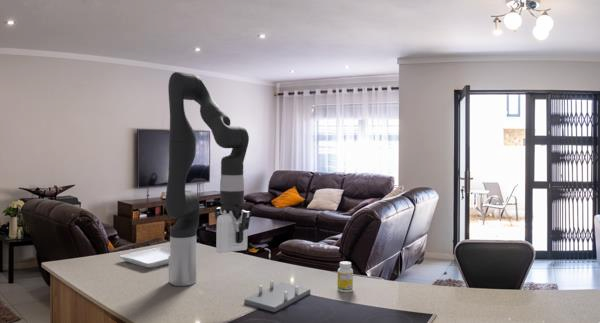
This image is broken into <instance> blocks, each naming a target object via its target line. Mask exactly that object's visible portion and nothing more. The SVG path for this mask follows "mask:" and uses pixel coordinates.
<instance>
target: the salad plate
mask: <svg viewBox="0 0 600 323" xmlns="http://www.w3.org/2000/svg"><path fill="white" fill-rule="evenodd" d="M169 256H170V247H169V248H168V247H164V246H163V247H162V246H159V247H154V248H148V249H144V250H139V251H134V252H129V253H126V254H120V255H119V257H120V259H122V260H123V261H125V262H128V263H131V264H134V265H138V266H141V267H143V268H148V269H149V268H150V269H151V268H157V267H161V266H164V265H169Z"/></svg>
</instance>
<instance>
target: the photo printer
mask: <svg viewBox="0 0 600 323" xmlns="http://www.w3.org/2000/svg"><path fill="white" fill-rule="evenodd" d="M241 216H242V215H241ZM236 221H241V217H240V219H238V220H236ZM239 227H240V224H239ZM248 229H249V228H248ZM248 229H246V230H244V231H243V241H242V243H236V232H237V231H236V228H235V225H234V224H233V221H232V218H231V216H230V213H227V214H222V215H220V216H218V217H217V226H216V236H215V237H216V240H215V241H216V244H215V246H216V247H215V248H216V250H215V251H216V253H218V254H223V253H231V252H232V253H233V252H239V251H246V250H247V249H248Z"/></svg>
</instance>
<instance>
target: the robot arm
mask: <svg viewBox="0 0 600 323" xmlns="http://www.w3.org/2000/svg"><path fill="white" fill-rule="evenodd" d="M167 86H168V90H167V91H168V103H169V104H168V105H169V136H168V137H169V139H168V141H169V142H168V174H167V177H168V178H167V184H166V192H165V202H164V205H165V206H164V207H165V211H166V213H167V215H168V216H169V217H170V218H171V219H177V220H176V221H175V223H174V224H173V225H172V226H171V228H170V229H169V243H170V244H169V249H170V256H169V264H168V283H170V285H173V286H178V287H185V286H191V285H194V284H196V282H197V230H198V227H199V223H200V200H199V197H198V195H197V194H196V193H195V192H194V191H192V190H186V183H187V177H188V174H189V172H190V170H191V167H193V166H192V165H193V163H194V161H195V158H196V153H197V152H196V151H197V150H196V149H197V136H196V133H195V131H194V129H193V127H192V125H191V124H190V122H189V119H188V118H187V115H186V112H185V105H184V102H185V101H193V102H195V103H198V105H200V107H199V113H200V117H201V119H202V120H203V122H204V124H206V126H207V127H208V128H209V129H210V130H211V131H210V132H211V133H212V136H213V139H214V141H215V143H216V145H217V146H219V147H221V149H222V148H223V149H231V151H230V154H229V155H225V156H223V157H221V160H220V161H221V162H220V182H219V192H220V193H219V199H220V200H219V202H220V204H221V207H216V208H214V209H213V211H214V219H215V225H216V226H215V227H217V217H218V216H220V215H222V214H227V213H230V216H231V218H232V221H233V224H234V225H235V228H236V231H237V232H236V243H242V241H243V231H244V230H246V229H249V227H250V221H251V215H252V213H251V212H252V211H250V210H245V209H244V207H243V205H244V203H245V178H244V161H245V159H246V158H245V157H246V154H247V150H248V146H249V140H250V137H249V133H248V131H247V129H246V128H245V127H244V126H239V125H238V126H237V125H236V126H235V125H234V126H233V125H231V119H230V117H229V116H228V115H227V114H226V112H225V111H224V110H223V109H222V108H221V107H220V106H219V104H217V102H216V101H215V100H214V98H213V96H212V95H211V93H210V90H209V89H208V88H207V86H206V84H205V83H204V81H203V80H202V78H201V77H200V76H198V75H197V74H194V73H193V74H192V73H188V72H187V73H186V72H180V71H175V72H172V74H170V76H169V79H168V85H167ZM184 100H185V101H184ZM241 215H242V216H241ZM240 217H241V221H236V220H238V219H240ZM239 224H240V227H239Z"/></svg>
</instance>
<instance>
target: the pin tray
mask: <svg viewBox="0 0 600 323" xmlns="http://www.w3.org/2000/svg"><path fill="white" fill-rule="evenodd" d="M263 289H264V288H263V285H262V284H261V285H260V284H259V285H258V292H257V293H255V294H252V295H251V296H249V297H246V298H244V302H243V304H244V305H248V306H250V307H255V308H258V309H261V310H265V311H268V312H272V313H277V311H280V310H282V309H283V308H286V307H287V306H289V305H291V304H293V303H295V302H297V301H298V300H301V299H302V298H304V297H307V296H308V295H310V294H311V288H307V287H302V286H299V285H295V284H290V283H286V282H279V283H277V284H276V285H275V283H274V280H270V282H269V288H266V289H264V290H263Z"/></svg>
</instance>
